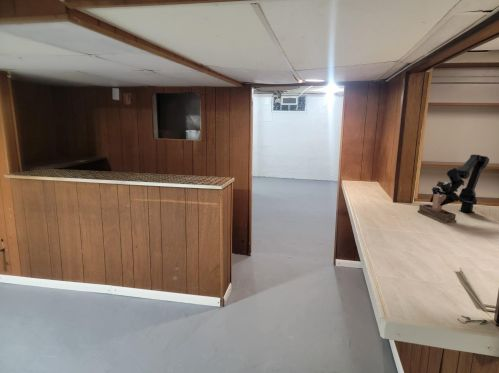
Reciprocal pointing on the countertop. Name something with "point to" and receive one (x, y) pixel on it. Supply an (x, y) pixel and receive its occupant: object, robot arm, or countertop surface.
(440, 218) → the compartment tray
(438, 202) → the clay block
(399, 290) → the countertop surface
